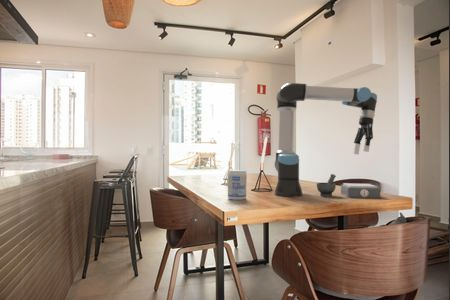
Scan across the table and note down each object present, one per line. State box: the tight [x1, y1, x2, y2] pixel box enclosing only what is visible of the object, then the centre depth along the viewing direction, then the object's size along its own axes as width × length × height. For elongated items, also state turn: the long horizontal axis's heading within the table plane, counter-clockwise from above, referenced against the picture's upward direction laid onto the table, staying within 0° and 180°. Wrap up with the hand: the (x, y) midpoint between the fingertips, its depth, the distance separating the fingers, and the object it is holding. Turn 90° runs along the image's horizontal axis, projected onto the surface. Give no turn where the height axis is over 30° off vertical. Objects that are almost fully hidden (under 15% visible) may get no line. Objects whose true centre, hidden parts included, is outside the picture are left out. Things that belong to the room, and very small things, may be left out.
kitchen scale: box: [340, 182, 381, 199], centre depth 156 cm, size 16×17×6 cm
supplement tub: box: [227, 169, 247, 201], centre depth 145 cm, size 10×10×15 cm
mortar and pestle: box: [316, 173, 337, 198], centre depth 156 cm, size 11×9×12 cm
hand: (360, 152), depth 166 cm, fingers open, 13 cm apart
